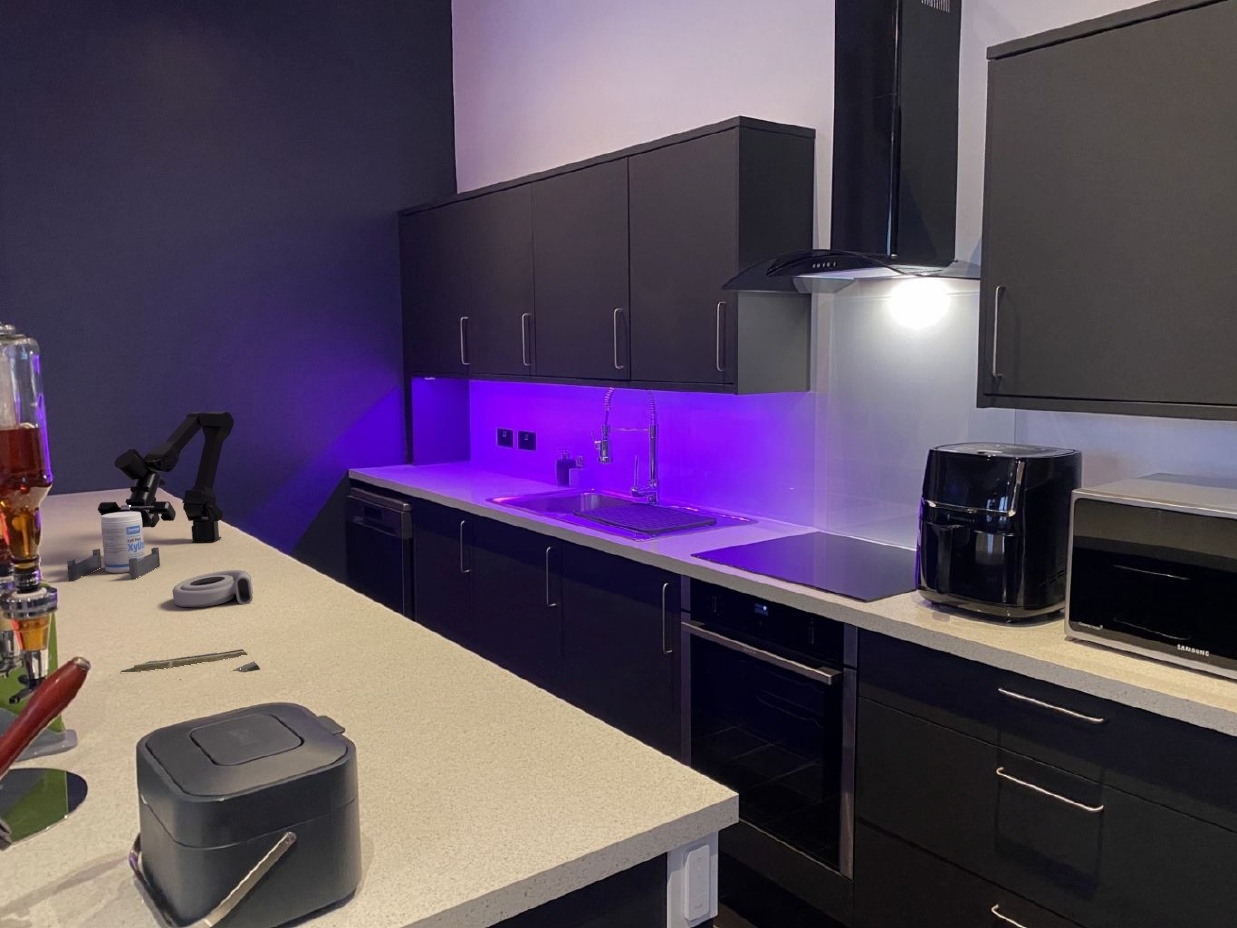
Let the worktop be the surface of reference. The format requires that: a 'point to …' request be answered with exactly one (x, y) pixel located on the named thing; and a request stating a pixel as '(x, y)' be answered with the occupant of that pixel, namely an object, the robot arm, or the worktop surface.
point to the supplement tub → (121, 540)
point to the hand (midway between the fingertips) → (127, 537)
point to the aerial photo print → (194, 662)
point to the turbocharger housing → (214, 589)
